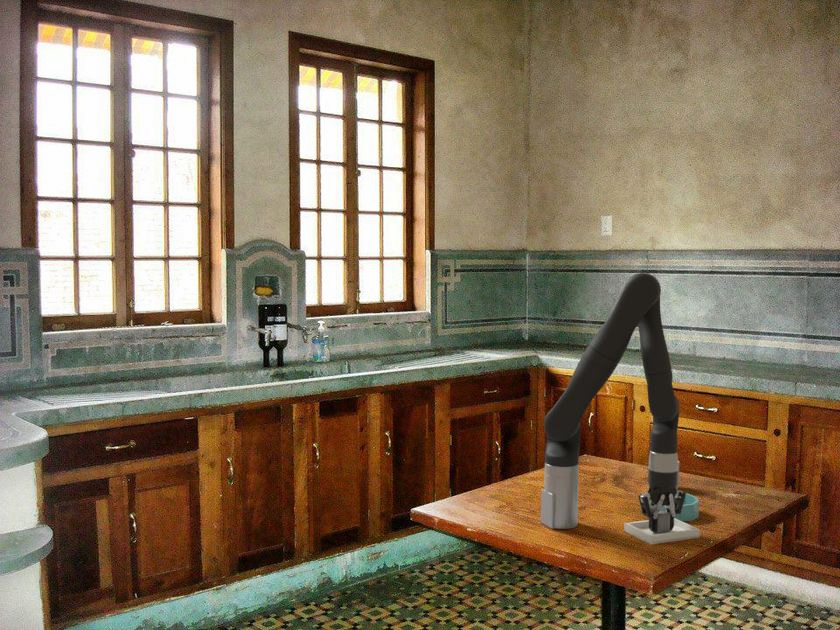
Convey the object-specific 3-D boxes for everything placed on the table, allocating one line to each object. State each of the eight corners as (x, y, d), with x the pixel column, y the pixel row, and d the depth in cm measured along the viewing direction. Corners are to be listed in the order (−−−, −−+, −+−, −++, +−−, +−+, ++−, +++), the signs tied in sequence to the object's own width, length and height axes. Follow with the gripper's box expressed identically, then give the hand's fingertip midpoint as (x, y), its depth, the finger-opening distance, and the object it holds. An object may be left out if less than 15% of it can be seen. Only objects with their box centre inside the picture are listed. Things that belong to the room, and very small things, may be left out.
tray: (650, 544, 223) (650, 536, 223) (624, 531, 234) (624, 523, 234) (699, 537, 229) (699, 529, 229) (671, 524, 240) (672, 517, 239)
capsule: (659, 534, 228) (659, 516, 228) (649, 529, 233) (649, 511, 232) (673, 533, 230) (673, 514, 230) (662, 528, 234) (663, 510, 234)
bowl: (664, 523, 240) (664, 508, 240) (631, 508, 255) (631, 493, 254) (709, 518, 246) (710, 502, 246) (674, 503, 260) (675, 488, 260)
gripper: (649, 473, 224) (647, 538, 225) (694, 468, 229) (692, 532, 230) (632, 466, 231) (630, 529, 232) (676, 462, 236) (674, 523, 237)
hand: (661, 530), depth 231 cm, fingers closed on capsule, 4 cm apart
